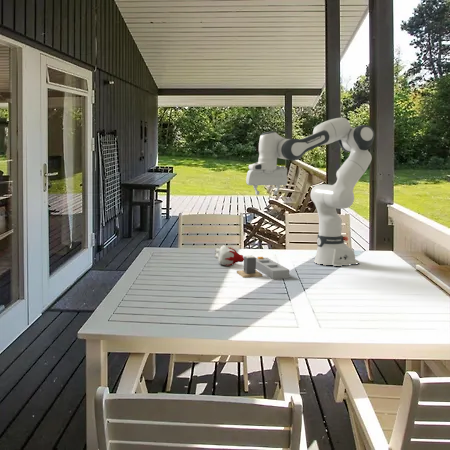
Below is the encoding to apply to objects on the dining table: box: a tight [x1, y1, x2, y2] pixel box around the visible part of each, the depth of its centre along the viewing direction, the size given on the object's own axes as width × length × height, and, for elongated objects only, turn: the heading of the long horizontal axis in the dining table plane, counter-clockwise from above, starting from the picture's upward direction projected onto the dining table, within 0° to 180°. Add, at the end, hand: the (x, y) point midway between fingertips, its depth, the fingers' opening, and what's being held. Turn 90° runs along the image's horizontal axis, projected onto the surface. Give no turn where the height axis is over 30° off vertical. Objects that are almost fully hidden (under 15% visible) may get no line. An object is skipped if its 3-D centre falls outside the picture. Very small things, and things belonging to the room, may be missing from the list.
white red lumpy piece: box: [214, 244, 245, 267], centre depth 263 cm, size 9×11×15 cm
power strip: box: [255, 256, 290, 280], centre depth 253 cm, size 8×32×4 cm, turn 18°
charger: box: [243, 254, 257, 274], centre depth 244 cm, size 4×4×7 cm
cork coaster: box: [236, 269, 263, 278], centre depth 244 cm, size 9×9×1 cm
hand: (266, 194), depth 262 cm, fingers open, 8 cm apart
